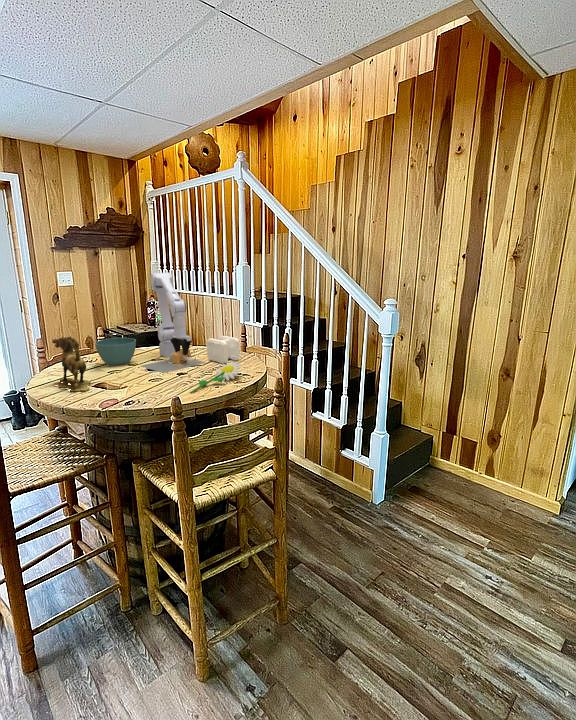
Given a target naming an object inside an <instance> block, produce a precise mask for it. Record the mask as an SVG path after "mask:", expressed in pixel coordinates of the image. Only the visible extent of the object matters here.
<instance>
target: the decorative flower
mask: <svg viewBox="0 0 576 720" xmlns="http://www.w3.org/2000/svg"><path fill="white" fill-rule="evenodd" d="M241 368H242V366H241V363H239V361H236V362H234V360H232V361H231V362H229V361H228V362H227V363H224V364H222V366H221V367H219V368H218V370H217V371H216V375H214V377H213V378H211V379H210V380H205V379H204V380H199V382H198V384H199V385H200V386H198V387H196V388H195V389H193V390H191V391H189V394H190V393H191V394H193V393H195V392H196V391H198V390H200V389H201V388H203V387H204V386H206V385H208V384H209V383H211V382H221V381H222V383H225V381H227V382H229V380H230V379H232V380H234V379H235V376H237V375H238V373H241V370H240V369H241ZM192 392H193V393H192Z"/></svg>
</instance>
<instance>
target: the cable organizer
mask: <svg viewBox="0 0 576 720" xmlns="http://www.w3.org/2000/svg"><path fill="white" fill-rule="evenodd" d="M206 355H207V356H206V357H207V358H208V360H210V361H211V360H212V362H214V361H215V362H217V363H219V364H222V365H223V364H227V363H228V362H229V359H230V360H232V361H237V360H239V359H240V341H239V339H238V338H237V337H234V336H233V337H232V336H227V335H220V336H219V339H216V338H212V337H211V338H208V339H206Z"/></svg>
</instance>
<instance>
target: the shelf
mask: <svg viewBox="0 0 576 720" xmlns="http://www.w3.org/2000/svg"><path fill="white" fill-rule="evenodd" d="M172 354H173V353H172ZM172 354H171V355H170V357H169V359H165V360H161V361H155V362H152V363H151V362H150V363H147V364H142V365H140V367H142V368H146V369H149V370H151V371H155V372H158V373H162V374H166V373H171V372H175V371H178V370H182V369H183V370H184V369H187V368H190V367H194V366H198V365H202V364H207V362H205V361H202V360H199V359H195V358H193V357H192V358H190V357H186V356H184V357H182V360H185V361H186V360H187V361H186V364H183V365H181V364H180V365H179V364H175V363H174V362H173V358H172ZM182 360H181V359H180V361H182ZM172 362H173V363H172Z"/></svg>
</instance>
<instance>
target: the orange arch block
mask: <svg viewBox="0 0 576 720" xmlns="http://www.w3.org/2000/svg"><path fill="white" fill-rule="evenodd" d="M184 356H186V357H190V358H193V357H192V353H191V349H189V351H188V355H183V350H182V349H180V351H178V352H176V353H173V354H172V358H173V364H175V365H181V364H182V363H181V361H182V360H183V359H182V357H184ZM180 359H181V360H180ZM185 361H186V362H187V360H185Z"/></svg>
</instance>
